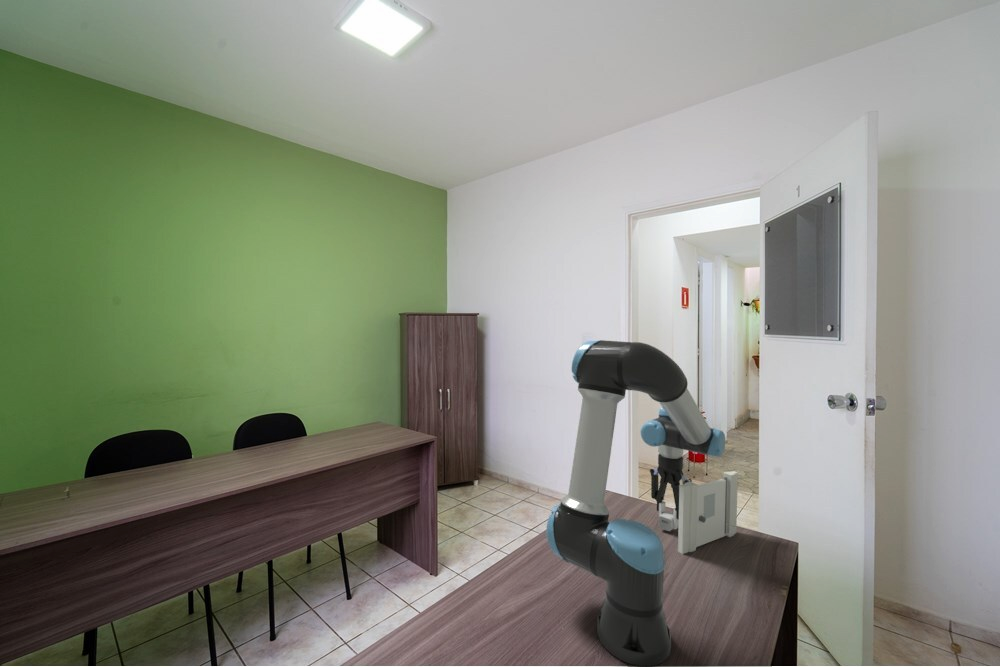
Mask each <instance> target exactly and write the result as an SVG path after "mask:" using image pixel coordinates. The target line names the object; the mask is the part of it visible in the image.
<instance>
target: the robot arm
mask: <svg viewBox="0 0 1000 667" xmlns="http://www.w3.org/2000/svg"><path fill="white" fill-rule="evenodd" d="M571 373H572V378H573V380H574V381H575V382H576V383H577V384H578V385H577V387H578V388H577V390H578V392H579V394H580V395H581V397H582V399H581V400H582V402H581V406H580V407H581V408H580V414H579V420H578V426H577V427H578V428H577V433H576V434H577V435H576V438H575V440H576V441H575V447H574V454H573V459H572V460H573V461H572V467H571V474H570V480H569V486H568V487H569V488H568V493H567V494H566V495H564V496H563V497H562V498H561V500H560V504H556V506H554V507H553V509H552V510H551V514H550V515H549V516H548V518H547V521H546V522H547V523H546V530H545V531H546V532H545V533H546V541H547V544H548V547H549V548H550V549H551V552H552V553H553V554H554V555H556V556H557V557H559V558H561V559H562V560H563V561H564V562H566V563H568V564H570V565H573V566H576V567H577V568H580V569H581V570H584V571H585V572H587V573H589V574H591V575H593V576H596V577H598V578H600V580H602V581H605V597H604V599H603V603H602V605H601V608H600V611H599V613H598V615H597V622H596V624H597V625H596V627H597V628H596V631H597V637H598V639H599V641H600V643H601V645H602V646H603V647H604V649H606V651H608V652H609V653H610V655H612V656H614V657H615V658H617V659H619V660H620V661H622V662H624V663H627V664H629V665H633V666H637V667H638V666H639V667H654V666H657V665H660V664H662V663H664V662H666V660H667V659H668V658H669V656H670V655H671V651H672V650H671V649H672V637H671V631H670V629H669V626H668V623H667V618H666V615H665V612H664V609H663V607H664V605H663V603H664V578H665V577H664V575H665V574H664V573H665V570H664V569H665V564H666V563H665V557H664V553H665V552H664V546H663V542H662V540H661V539H660V537H659V536H658V534H657V533H656V532H655V531H654V530H652V529H651V528H650V527H649V526H647V525H645V524H643V523H642V522H639V521H636V520H633V519H629V520H627V519H626V518H618V519H613V520H611V521H609V518H610V517H609V515H610V509H609V508H608V507H607V505H606V503H605V499H606V489H607V482H608V475H609V470H610V468H609V467H610V462H611V454H612V447H613V439H614V432H615V426H616V425H615V424H616V417H617V409H618V404H619V403H620V402H621V401H623V400H624V399H625V398H626V393H627V392H626V391H634V392H635V391H636V392H641V393H644V394H647V395H648V396H649V397H650V399H651V400H653V401H655V402H657V403H659V404H660V406H661V407H660V408H659V409H658V410H659V411H658V417H656V418H653V419H651V420H647V422H645V423H644V424H643V425H642V426H641V429H640V436H641V439H642V441H643V442H644V443H645V444H646V445H648V446H650V447H655V448H656V447H657V448H658V450H657V451H658V453H659V454H657V467H652V468H650V469H649V473H650V478H651V481H650V482H651V484H650V485H651V488H650V492H651V493H650V494H651V496H650V497H651V498H652V499H653V500H655V502H656V511H657V512H658V517H659V516H660V515H661V514H663V513H664V512H666V501H664V500H665V494H666V490H667V487H668V484H670V488H671V489H672V495H673V500H674V505H675V508H673V511H672V512H673V513H672V514H673V529H672V530H677V529H678V527H679V485H683V484H685V483H687V482H692V483H693V480H692V479H691V478H688V477H686V476H684V472H683V466H684V463H683V462H684V457H683V456H684V450H685V451H688V452H691V453H698V454H701V455H705V456H712V457H720V456H722V455H723V454H724V451H725V447H726V435H725V433H724V431H723V430H720V429H717V428H715V427H713V428H711V427H710V426H709V424H708V422H707V421H706V419H705V417H704V415H703V413H702V412H701V410H700V408H699V407H698V406H699V405H697V403H696V401H695V399H694V398H693V396H692V394H691V392H690V391H689V388H688V384H689V383H688V379H687V376H686V374H685V372H684V371H683V369H682V368H681V367H680V366H679V364H677V363H676V361H674V360H673V359H672V358H671V357H670V356H669V355H667V354H666V353H665V352H663V351H662V350H660V349H659V348H657V347H655V346H653V345H650V344H648V343H644V342H637V341H633V342H632V341H620V340H619V341H617V340H600V339H599V340H589V341H585V342H584V343H582V344H581V345H580V346H579V347H578V348H577V349H576V351H575V353H574V355H573V358H572V361H571ZM659 477H660V480H659ZM680 481H681V483H680Z"/></svg>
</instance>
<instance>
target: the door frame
mask: <svg viewBox="0 0 1000 667" xmlns="http://www.w3.org/2000/svg"><path fill="white" fill-rule="evenodd" d="M722 476H723V478H722V479H723V480H726V494H725V533H724V536H726V537H728V538H731V537H733V536H735V534H737V522H738V521H737V517H738V487H739V485H738V484H739V483H738V481H739V472H737V471H735V470H732V471H724V472H723V474H722ZM698 485H699V484H697V483H695V482H693V481H692V482H687V483H685V484H680V485H679V527H678V528H677V529H678V530H677V532H678V534H677V535H678V536H677V537H678V538H677V540H678V541H677V553H678V554H679V553H680V554H681V555H684V554H687V553H693V552H695V551H696V550H697V547H696V530H697V488H698ZM726 524H728V525H726ZM729 525H730V526H729ZM731 525H732V526H731ZM733 526H735V527H733Z"/></svg>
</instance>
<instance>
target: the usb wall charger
mask: <svg viewBox="0 0 1000 667" xmlns="http://www.w3.org/2000/svg"><path fill="white" fill-rule="evenodd" d="M658 527H659V528H660V529H662V530H664V531H667V532H671V531H672V530H674V529H673V513H671V512H669V511H665V512H664V513H663V514H661V515H660V516H659V515H658Z"/></svg>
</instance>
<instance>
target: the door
mask: <svg viewBox="0 0 1000 667" xmlns="http://www.w3.org/2000/svg"><path fill="white" fill-rule="evenodd" d="M697 485H698V488H697V530H696V548H698V547H701V546H704V545H705V544H708V543H710V542H713V541H715V540H719V539H721V538H724V537H725V535H724V533H725V494H726V480H723V478H719V479H716V480H711V481H708V482H705V483H702V484H697Z"/></svg>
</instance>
